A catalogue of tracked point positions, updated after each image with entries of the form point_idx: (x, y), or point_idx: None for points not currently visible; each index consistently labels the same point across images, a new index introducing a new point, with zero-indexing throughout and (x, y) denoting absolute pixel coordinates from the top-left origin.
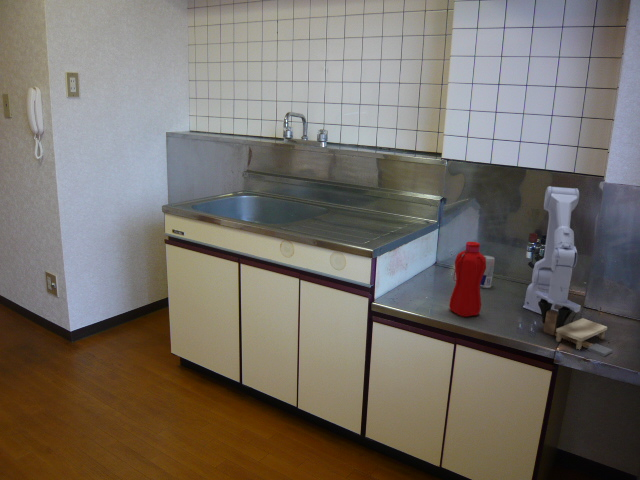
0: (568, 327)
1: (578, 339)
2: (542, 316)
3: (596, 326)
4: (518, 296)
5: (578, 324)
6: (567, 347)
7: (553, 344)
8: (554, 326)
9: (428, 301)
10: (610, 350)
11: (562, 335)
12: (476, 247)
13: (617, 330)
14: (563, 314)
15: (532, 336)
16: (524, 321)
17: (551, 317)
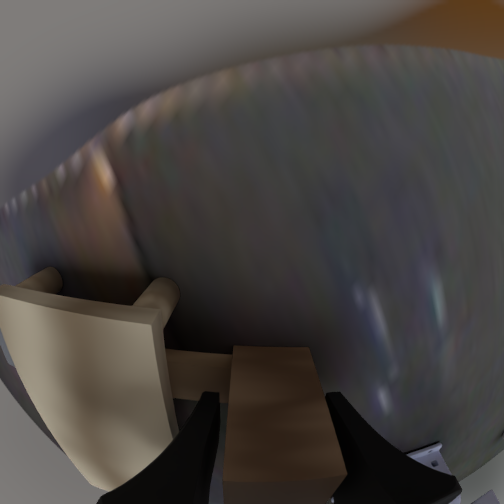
0: (131, 412)
1: (10, 289)
2: (362, 422)
3: (103, 478)
4: (448, 465)
5: None
6: (84, 248)
7: (151, 208)
8: (234, 392)
9: None
10: (3, 351)
11: (174, 362)
12: None
13: None
14: (125, 492)
15: (324, 206)
16: (428, 366)
17: (279, 446)
